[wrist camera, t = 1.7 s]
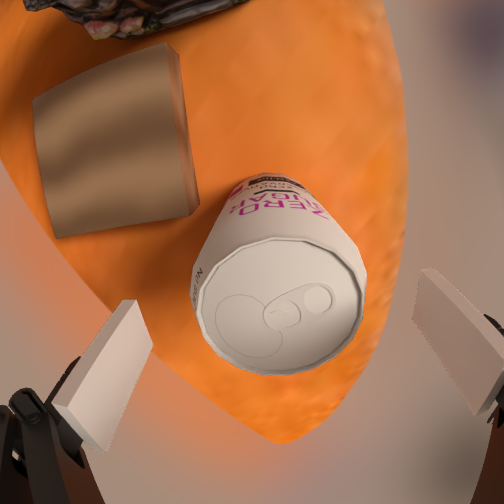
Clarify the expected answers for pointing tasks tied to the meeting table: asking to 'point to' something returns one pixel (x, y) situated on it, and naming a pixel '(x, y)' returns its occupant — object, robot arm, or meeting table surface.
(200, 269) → the supplement can
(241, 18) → the meeting table surface
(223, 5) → the decorative house
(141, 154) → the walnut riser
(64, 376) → the robot arm
